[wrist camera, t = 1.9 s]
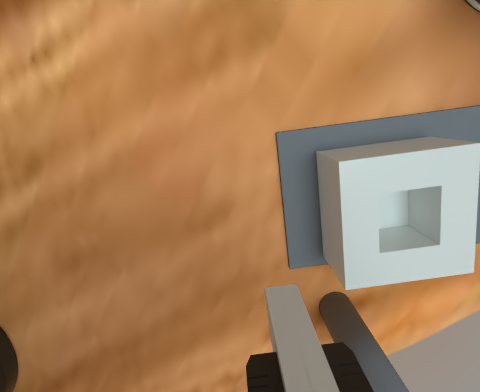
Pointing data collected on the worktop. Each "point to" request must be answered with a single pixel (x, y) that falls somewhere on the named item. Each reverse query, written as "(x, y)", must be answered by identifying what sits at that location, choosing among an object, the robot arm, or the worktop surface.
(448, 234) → the hole block
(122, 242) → the worktop surface
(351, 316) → the dowel
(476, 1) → the coffee can
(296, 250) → the rubber mat
